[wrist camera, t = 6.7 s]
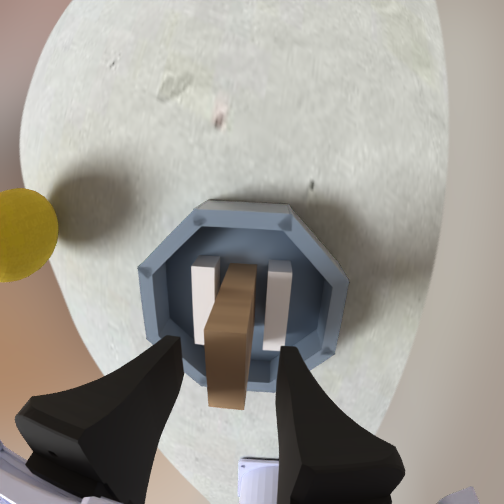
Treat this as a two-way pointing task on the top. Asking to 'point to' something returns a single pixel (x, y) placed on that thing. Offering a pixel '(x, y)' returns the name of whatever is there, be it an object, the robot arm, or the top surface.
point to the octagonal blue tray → (267, 285)
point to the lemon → (25, 233)
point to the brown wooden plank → (231, 337)
